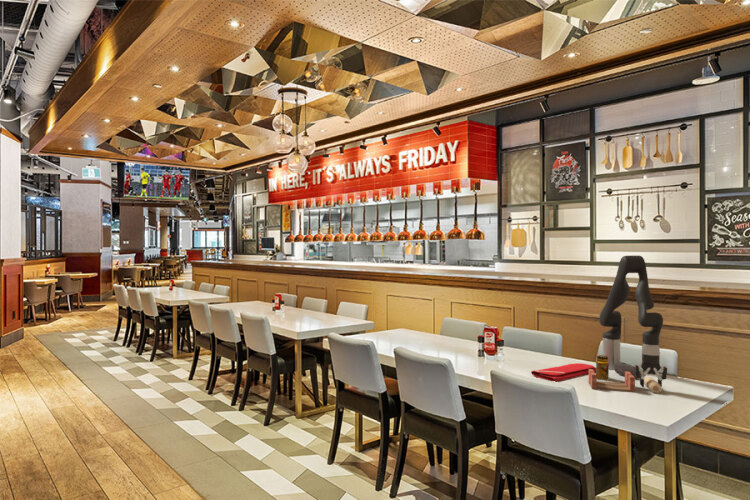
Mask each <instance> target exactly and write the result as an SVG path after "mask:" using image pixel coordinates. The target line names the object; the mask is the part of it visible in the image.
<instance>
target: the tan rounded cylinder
mask: <svg viewBox="0 0 750 500" xmlns="http://www.w3.org/2000/svg"><path fill="white" fill-rule="evenodd" d="M644 387H647V388H648V390H649V391H650V392H651V393H653V394H660V393H661V392H662V389H663V388H662V387H661V386H660V385H659V384H658V381H656V379H654V378H653V377H651V376H645V377H644Z"/></svg>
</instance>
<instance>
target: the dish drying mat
mask: <svg viewBox="0 0 750 500" xmlns="http://www.w3.org/2000/svg"><path fill="white" fill-rule="evenodd" d="M588 369H593V371H594V372H595V373H596V366H594V365H591V364H587V363H582V362H581V363H580V362H579V363H578V362H577V363H576V362H575V363H568V364H565V365H560V366H555V367H553V366H552V367H548V368H547V367H546V368H543V369H537V370H536V369H535V370H532V371H530V374H531V375H533V377H536V378H538V379H541V380H546V381H549V382H552V381H557V382H560V381H565V380H569V379H573V378H577V377H578V378H579V377H582V376H587V375H588Z"/></svg>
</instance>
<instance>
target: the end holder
mask: <svg viewBox="0 0 750 500" xmlns="http://www.w3.org/2000/svg"><path fill="white" fill-rule="evenodd" d="M587 375H588V376H587V377H588V381H587V382H588V384H589V386H590V388H591V389H592V390H598V389H600V390H601V391H612V390H613V391H616V392H617V391H618V392H626V393H627V392H628V393H636V379H635V377H634V376H633V375H632V374H631V373H630V372H627V371H625V376H624V382H616V381H615V382H613V381H611V382H609V381H602V380H599V381H597V380H598V379H597V375H596V372H594V371H593V369H588V374H587Z"/></svg>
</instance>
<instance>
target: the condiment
mask: <svg viewBox="0 0 750 500" xmlns="http://www.w3.org/2000/svg"><path fill="white" fill-rule="evenodd" d="M595 367H596V372H595V374H596V375H597V380H599V381H605V382H609V381H610V376H609V374H610V373H609V370H610V369H609V362H608V357H607V356H603V354H601V355H597V356H596V361H595Z"/></svg>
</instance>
